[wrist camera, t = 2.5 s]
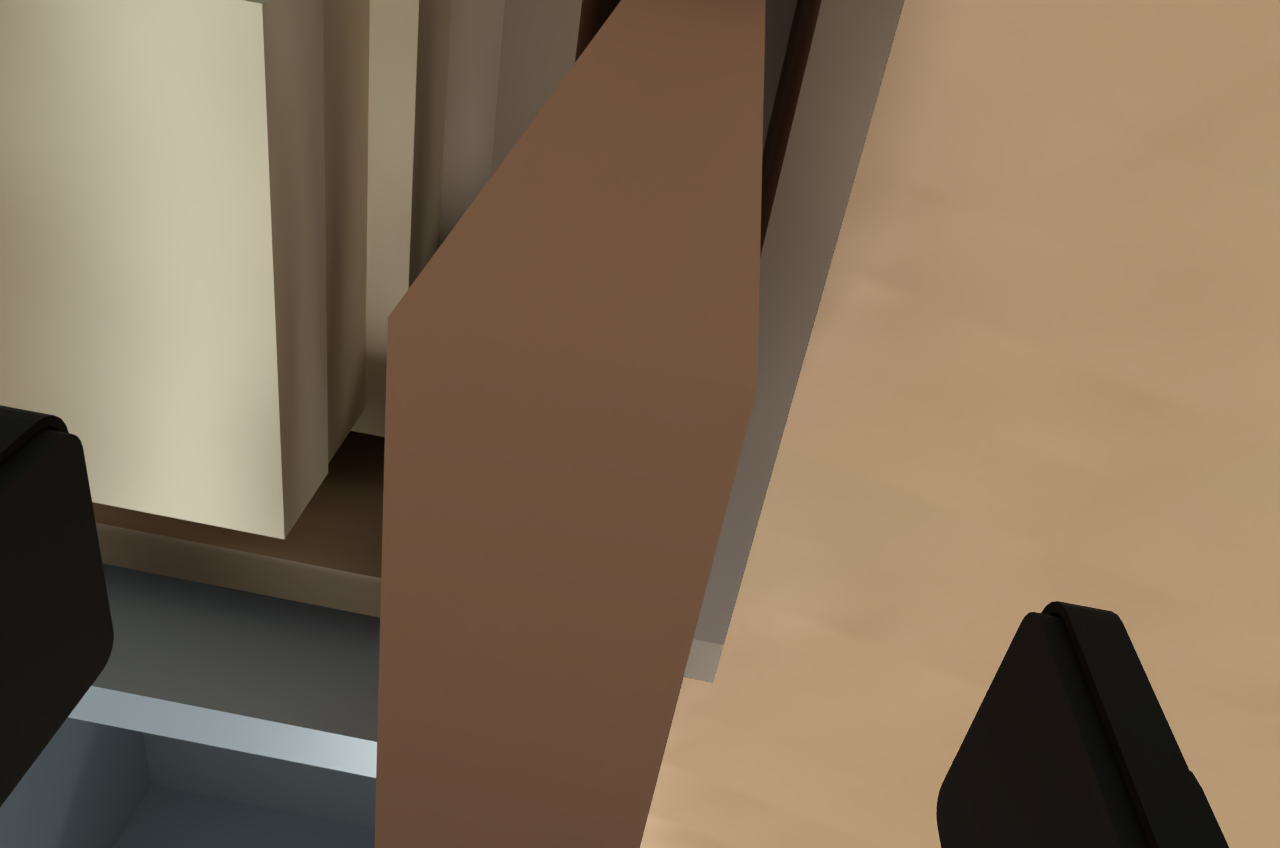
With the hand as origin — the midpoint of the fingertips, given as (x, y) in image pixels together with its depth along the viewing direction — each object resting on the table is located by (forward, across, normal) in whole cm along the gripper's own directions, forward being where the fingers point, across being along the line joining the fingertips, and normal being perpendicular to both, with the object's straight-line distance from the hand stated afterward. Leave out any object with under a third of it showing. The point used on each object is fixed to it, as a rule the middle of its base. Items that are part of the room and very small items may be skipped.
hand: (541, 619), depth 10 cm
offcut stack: (+12, +9, 0) cm, 15 cm away
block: (+11, 0, 0) cm, 11 cm away
